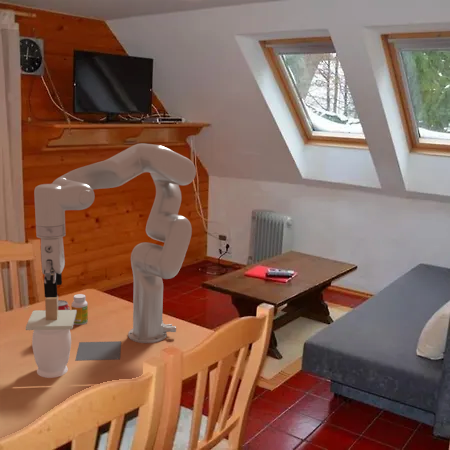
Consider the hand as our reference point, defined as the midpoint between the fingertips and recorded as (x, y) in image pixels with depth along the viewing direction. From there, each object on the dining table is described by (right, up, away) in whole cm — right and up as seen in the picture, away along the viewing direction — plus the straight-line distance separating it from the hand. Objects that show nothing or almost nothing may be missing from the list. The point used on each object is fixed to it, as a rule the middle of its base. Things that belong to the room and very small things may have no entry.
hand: (53, 290), depth 154 cm
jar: (-2, -24, +4) cm, 24 cm away
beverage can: (-6, -19, +27) cm, 33 cm away
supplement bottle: (-3, -16, +40) cm, 43 cm away
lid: (-1, -9, +1) cm, 9 cm away
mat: (+9, -21, +18) cm, 29 cm away
